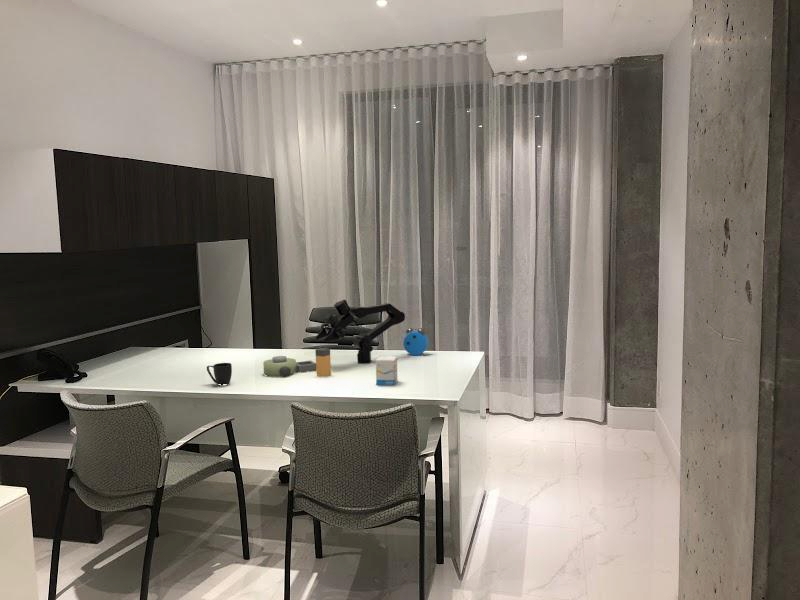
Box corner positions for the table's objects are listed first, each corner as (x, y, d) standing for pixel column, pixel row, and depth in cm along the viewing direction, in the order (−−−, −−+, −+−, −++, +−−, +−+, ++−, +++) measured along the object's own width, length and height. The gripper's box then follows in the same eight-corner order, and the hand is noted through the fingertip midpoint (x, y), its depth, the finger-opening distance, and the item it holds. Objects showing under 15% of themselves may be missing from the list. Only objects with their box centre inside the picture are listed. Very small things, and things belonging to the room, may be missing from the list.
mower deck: (308, 365, 342) (307, 350, 341) (320, 372, 324) (319, 356, 323) (259, 371, 330) (258, 355, 330) (269, 379, 313) (268, 362, 312)
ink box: (394, 385, 293) (393, 360, 291) (376, 385, 294) (375, 359, 293) (398, 381, 301) (397, 356, 300) (380, 380, 303) (379, 356, 302)
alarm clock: (429, 353, 362) (428, 327, 360) (426, 356, 356) (425, 329, 354) (406, 353, 366) (405, 327, 364) (403, 355, 360) (402, 328, 358)
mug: (213, 381, 311) (211, 362, 310) (235, 382, 308) (234, 362, 307) (203, 386, 303) (202, 366, 302) (227, 386, 300) (225, 366, 299)
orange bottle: (323, 373, 321) (322, 347, 319) (331, 374, 318) (330, 348, 317) (316, 375, 317) (315, 349, 315) (324, 376, 314) (323, 350, 312)
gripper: (328, 308, 341) (304, 324, 335) (344, 311, 326) (320, 328, 319) (338, 325, 345) (314, 342, 339) (354, 329, 329) (330, 347, 323)
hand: (319, 339), depth 330 cm, fingers open, 9 cm apart
